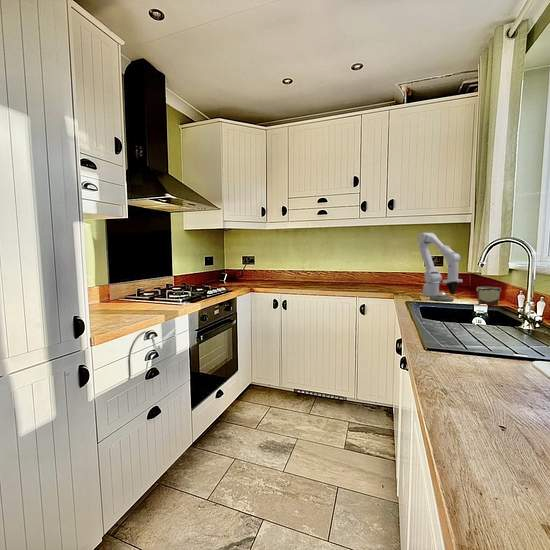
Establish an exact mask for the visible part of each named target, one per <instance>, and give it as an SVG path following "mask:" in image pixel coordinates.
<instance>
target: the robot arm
mask: <svg viewBox="0 0 550 550" xmlns="http://www.w3.org/2000/svg"><path fill="white" fill-rule="evenodd" d="M417 241H418V249H419V252H420V255H421V259H422V262H423V264H424V267H425V268H424V269H425V271H424V273H423V274H424V282H425V283H424V284H423V285H422V296H423V295H425V297H429V296H433V295H437V293H438V292H440V284H441V281H442V284H446V286H447V288H448V290H449V291H448V292H449V294H450V295H455V294H456V291H457V288H458V287H459V285H460V283H463V279H462V278H461V279H460V278H459V266H460V265H459V263H460V262H461V259H462V257H461V256H462V255H460V254H459V253H457V252H455V251H453V250H452V249H451V246H449V245H445V244H443V243H442V242H441V240H440V239H439V238H438V237H437V235H436V234H435V233H434V232H424V231H423V232H420V233H419V234H418V236H417ZM432 244H433V245H435V247H436V248H438V249H439V253H440V254H442V256H443V257H444V258H445V261H446V263H447V279H443V276H442V274H441V273H440V271H439V269H437V268H435V263H434V261H433V258H432V255H431V252H430V249H429V247H430V245H432Z"/></svg>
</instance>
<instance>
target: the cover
mask: <svg viewBox="0 0 550 550" xmlns="http://www.w3.org/2000/svg"><path fill="white" fill-rule="evenodd" d="M446 296H447V293H446V292H444V291H440V290H439V292H438V293H437V297H446Z"/></svg>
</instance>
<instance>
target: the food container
mask: <svg viewBox="0 0 550 550" xmlns="http://www.w3.org/2000/svg"><path fill="white" fill-rule="evenodd" d="M475 291H476V292H477V301H478V303H477V304H478V305H479V304H487V305H498V306H499V301H500V294H501V292H502V289H501V287H497V286H477V287H476V290H475Z"/></svg>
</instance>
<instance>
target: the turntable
mask: <svg viewBox="0 0 550 550" xmlns="http://www.w3.org/2000/svg"><path fill="white" fill-rule="evenodd" d="M429 300H432V301H437V302H449V301H450V302H452V301H455V300H454V296H450V295H446V297H437V295H433V296H430V297H429Z"/></svg>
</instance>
